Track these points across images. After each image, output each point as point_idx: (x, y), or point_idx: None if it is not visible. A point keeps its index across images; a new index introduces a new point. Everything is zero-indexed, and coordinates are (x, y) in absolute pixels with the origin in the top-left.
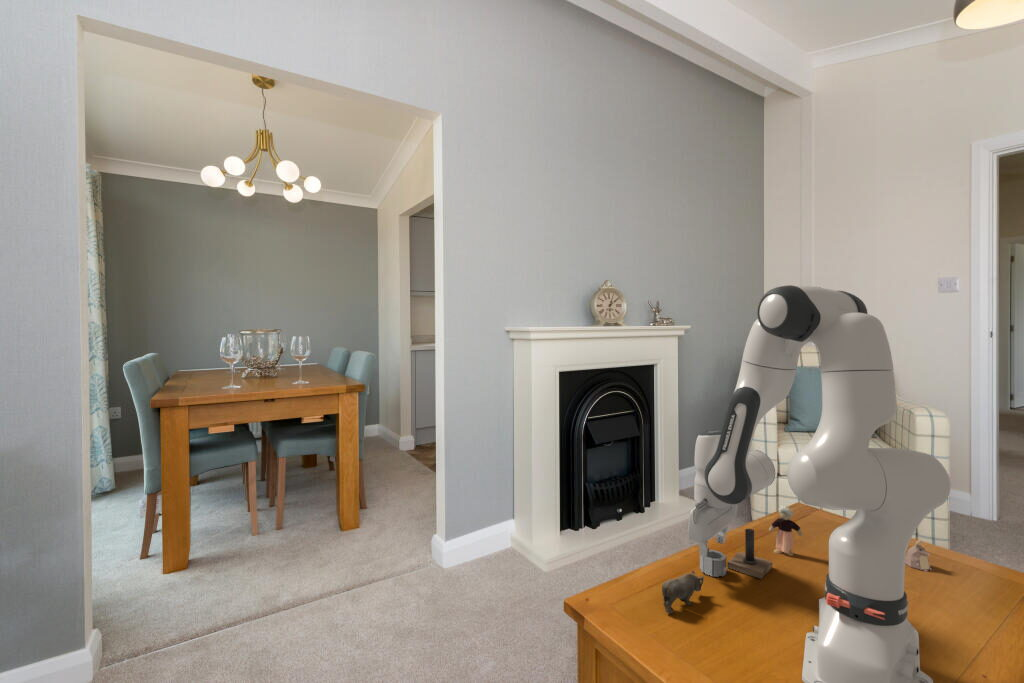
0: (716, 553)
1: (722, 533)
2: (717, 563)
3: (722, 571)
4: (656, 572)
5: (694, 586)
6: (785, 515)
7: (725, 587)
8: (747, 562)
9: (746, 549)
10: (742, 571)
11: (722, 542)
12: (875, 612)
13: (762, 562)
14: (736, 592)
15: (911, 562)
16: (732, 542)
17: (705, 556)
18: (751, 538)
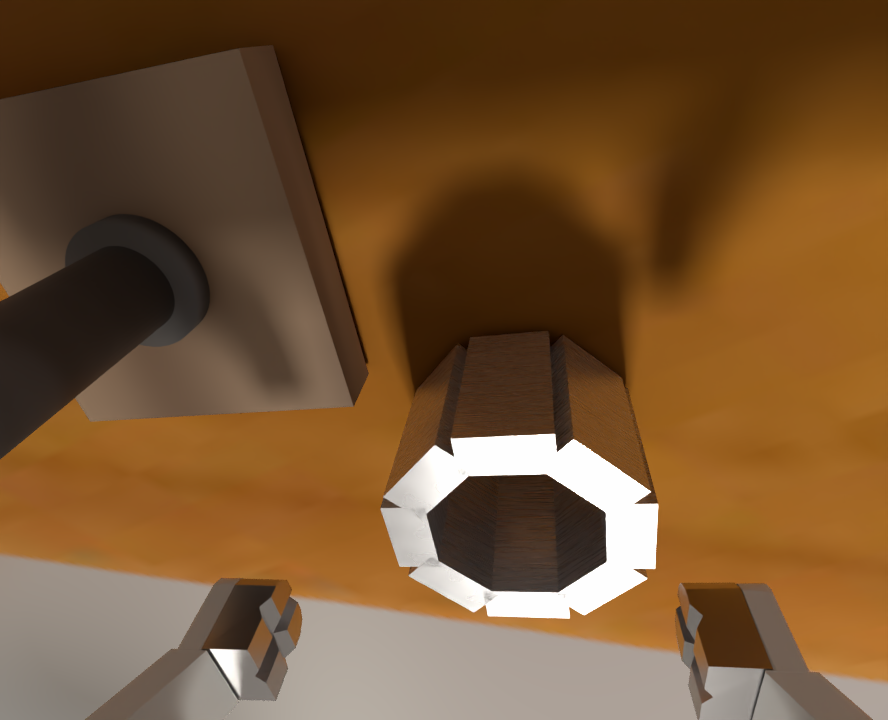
0: (433, 527)
1: (189, 695)
2: (610, 442)
3: (548, 360)
4: (843, 632)
5: None
6: None
7: (748, 218)
8: (196, 279)
9: (92, 370)
10: (329, 254)
11: (274, 592)
12: None
13: (24, 184)
14: (792, 76)
15: None
16: (2, 502)
17: (762, 586)
18: None
